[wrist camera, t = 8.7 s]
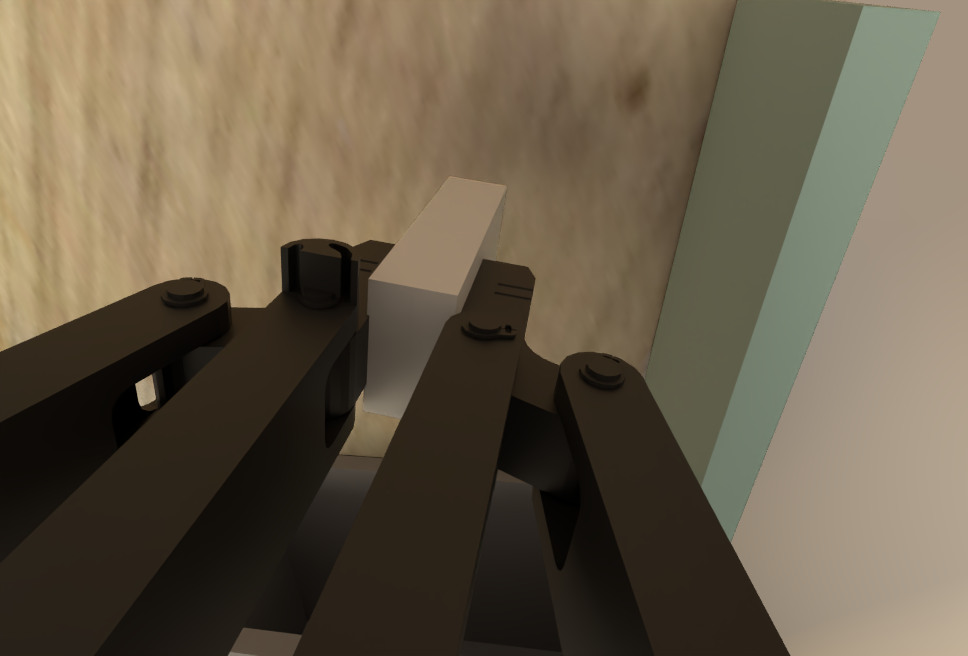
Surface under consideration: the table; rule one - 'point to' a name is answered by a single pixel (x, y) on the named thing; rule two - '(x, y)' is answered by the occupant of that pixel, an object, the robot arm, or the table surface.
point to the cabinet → (497, 590)
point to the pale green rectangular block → (773, 220)
